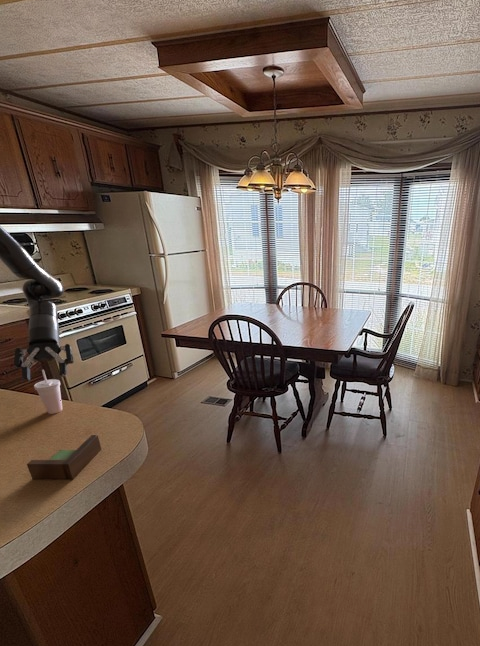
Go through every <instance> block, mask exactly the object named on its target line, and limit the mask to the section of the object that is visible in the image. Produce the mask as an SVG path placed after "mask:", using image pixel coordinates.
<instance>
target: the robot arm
mask: <svg viewBox="0 0 480 646" xmlns="http://www.w3.org/2000/svg"><path fill="white" fill-rule="evenodd" d="M0 261H1V262H2V263H3V264H4V265H5V266H6V267H7V269H8V270H9V271H11V273H12V274H13V275H14V276H15V277H16V278H19V279H21V280H22V279H23V280H26V281H24V283H23V284H22V288H21V289H22V292H23V294H24V297H25V299H26V302H27V305H28V307H29V321H28V347H27V348H25V349H24V348H23V349H22V348H19V347H16V348H15V349H14V359H13V366H14V367H15V368H17V369H18V370H21V377H22V378H23V379H24V380H25V381H26V382H29V381H31V368H32V367H33V366H35V365H36V364H38V362H40V363H43V362H52V361H53V360H55V361H57V362H58V372H59V373H58V375H59V376H60V377H61V378H63V377H65V376H66V375H67V373H68V372H67V370H68V369H67V366H68V365H69V364H71V365H72V364H74V355H73V354H74V353H73V348H72V346H71V345H70V344H69V343H66V344H65V345H61V344H60V326H59V321H58V307H57V305H56V304H55V303H54V302H52V301H50V299H51V300H52V299H56V298H60V297H62V295H63V294H64V287H63V283H61V281H60V280H59V279H58V278H57V277H56V276H54V275H53V274H52V273H50V272H49V271H48V270H47V269H45V268H44V267H42V266H41V265H40V264H38V263H37V261H36V260H35V259H34V258H33V256H32V255H31V254H30V253H29V252H28V251H27V249H26V248H25V247H24V246H22V244H21V243H20V242H19V241H18V240H16V239H15V238H14V237H13V236H12V235H11V234H10V233H8V231H6V229H4V228H3V227H2V226H1V225H0ZM62 351H63V353H65V357H66V358H65V359H63V358H62V357H61V356H60V355H59V354H60V353H61V352H62ZM27 354H29V355H27ZM26 356H27V357H26ZM24 357H26V359H25V360H24Z"/></svg>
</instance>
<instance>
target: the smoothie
mask: <svg viewBox="0 0 480 646" xmlns="http://www.w3.org/2000/svg"><path fill="white" fill-rule="evenodd" d="M41 372H42V376H43V380H40V381H38V382H36V383H35V384H34V385H33V389H34V390H35V391H36V392H37V394H38V396H39V399H40V400H41V402H42V404H43V405H44V408H45V410H46V411H47V413H48V414H49V415H50V414H51V415H53V414H58V413H60V412H62V411H63V402H62V394H61V387H60V386H61V381H60V380H59V379H55V378H51V379H47V376H46V372H45V369H41ZM60 400H61V401H60Z"/></svg>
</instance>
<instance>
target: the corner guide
mask: <svg viewBox="0 0 480 646" xmlns="http://www.w3.org/2000/svg"><path fill="white" fill-rule="evenodd" d="M101 450H102V446H101V443H100V438H99V435H98V434H91V435H90V436H89V437H88V438H87V439H86V440H85V441H84V442H83V443H82V444H81V445H80V446H78V448H76V449H58V451H56V453H55V454H53V455H52V456H51V457H49V459H31V460H30V461H29V462H27V463H26V466H27V469H28V471H29V474H30V477H31V479H32V481H33V480H34V481H40V480H42V481H43V480H48V481H51V480H52V481H53V480H65V481H67V480H68V481H69V480H70V481H71V480H72V481H73V480H74V479H76V478H77V476H78V475H80V473H81V472H82V471H83V470H84V468H85V467H86V466H88V464H89V463H90V462H91V461H92V460H93V459H94V458H95V457H96V456H97V455H98V454H99V452H100V451H101Z"/></svg>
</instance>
